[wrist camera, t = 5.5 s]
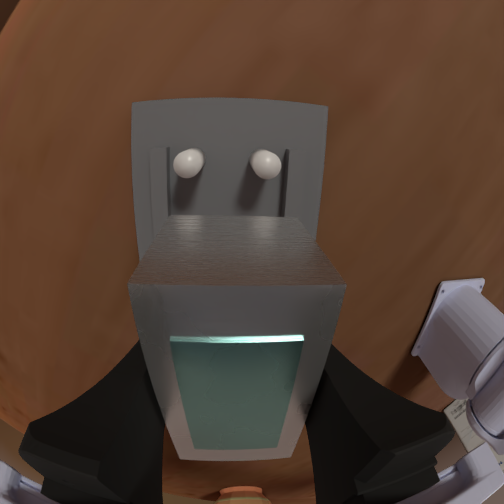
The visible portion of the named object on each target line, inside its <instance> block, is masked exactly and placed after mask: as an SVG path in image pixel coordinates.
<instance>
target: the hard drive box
mask: <svg viewBox="0 0 504 504" xmlns="http://www.w3.org/2000/svg"><path fill="white" fill-rule="evenodd" d="M468 399H469V398H468ZM468 399H464V400H458V399H456V400H455V401H454V402H453V403H451V404H450V405H449V406H448V407H447V408H445V409H444V411H443V412H444V414H445V415H446V417H447V418H448V420H449V422H450V423H451V425H452V427H453V428H454V430H455V432H456V434H457V435H458V437H459V439H460V441H461V443H462V444H463V446H464V448H465V450H466V451H467V453H468V452H470V451H471V450H473V449H474V448H476V447H478V446H479V445H481V444H482V443H484V442H486V441H485V440H483V439H481V438H480V437H479V436H477V435H476V433H475V432H474V431H473V430H472V428H471V427H470V425H469V423H468V420H467V416H466V402H467V400H468ZM488 445H489V444H488ZM489 447H490V449H491V451H492V452H493V454H494V456H495V458H496V460H497V462H498V464H499V465H500V467H501V469H502V471H504V455H498V454H497V453H496V452H495V451H494V450H493V449H492V447H491V446H490V445H489Z"/></svg>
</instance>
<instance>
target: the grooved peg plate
mask: <svg viewBox="0 0 504 504" xmlns="http://www.w3.org/2000/svg"><path fill="white" fill-rule="evenodd" d="M327 117H328V106H321V105H314V104H307V103H298V102H289V101H279V100H266V99H248V98H182V99H165V100H153V101H142V102H133V103H132V123H131V151H132V181H133V198H134V212H135V223H136V233H137V242H138V251H139V259H140V261H141V259H142V258H143V256H144V255H145V253H146V251H147V250H148V248H149V247H150V245H151V243H152V242H153V240H154V239H155V237H156V235H157V234H158V232H159V231H160V229H161V228H162V226H163V225H164V223H165V222H166V220H167V219H168V217H169V216H170V215H214V216H268V217H297V218H298V219H299V221H300V222H301V223H302V224H303V226H304V227H305V228H306V230H307V231H308V232H309V234H310V235H311V236H312V238H313V239H314V240H316V232H317V224H318V216H319V208H320V199H321V189H322V180H323V169H324V158H325V146H326V132H327Z"/></svg>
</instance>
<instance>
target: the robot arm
mask: <svg viewBox="0 0 504 504" xmlns="http://www.w3.org/2000/svg"><path fill="white" fill-rule="evenodd" d="M484 283H485V280H484V279H483V278H476V279H465V280H453V281H443V282H441V283H440V285H439V287H438V290H437V293H436V295H435V298H434V301H433V303H432V306H431V308H430V311H429V313H428V316H427V318H426V321H425V323H424V325H423V328H422V330H421V332H420V334H419V337H418V339H417V341H416V343H415V345H414V347H413V349H412V351H411V354H412V356H417V355H418V356H419V357H420V359H421V360H422V361H423V363H424V364H425V366H426V367H427V369H428V370H429V372H430V373H431V375H432V376H433V378H434V379H435V381H436V382H437V384H438V385H439V387H440V388H441V389H442V391H443V392H444V393H446V394H447V395H448V396H450V397H452V398H454V399H458V400H464V399H468V398H469V399H468V400H467V402H466V416H467V420H468V423H469V425H470V427H471V428H472V430H473V431H474V432H475V433H476V435H477V436H479V437H480V438H481V439H483V440H485V441H486V442H484V443H482V444H481V445H479V446H478V447H476V448H474V449H473V450H471V451H470V452H468V453H467V454H466V455H464V456H463V457H462V458H461V459H459V460H458V461H457V462H456V464H454V465H452V466H450V467H448V468H447V469H445V470H443V471H441V472H439V473H437V472H436V470H435V468H434V466H435V465H436V464H437V460H436V458H435V455H436V454H438V453H439V452H440V451H441V450H442V449H443V448H444V447H445V446H446V445H447V444H448V443H449V442H450V441H451V440H452V438H453V437H454V434H455V431H454V429H453V427H452V425H451V424H450V422H449V420H448V418H447V417H446V415H445V414H444V413H441V412H438V411H435V410H432V409H429V408H426V407H423V406H421V405H418V404H416V403H414V402H412V401H409V400H407V399H405V398H403V397H401V396H399V395H397V394H396V393H394V392H392V391H390V390H389V389H387V388H385V387H384V386H382V385H380V384H379V383H377V382H376V381H375V380H373V379H372V378H370V377H369V376H368V375H366V374H365V373H363V372H362V371H361V370H360V369H358V368H357V367H356V366H355V365H354V364H352V363H351V362H350V361H349V360H348V359H347V358H346V357H345V356H343V355H342V354H341V353H340V352H339V351H338V350H337V349H336V348H335V347H334V346H333V345H332V344H331V346H330V349H329V353H328V356H327V359H326V363H325V366H324V369H323V372H322V375H321V378H320V381H319V384H318V387H317V390H316V393H315V396H314V399H313V402H312V404H311V407H310V410H309V413H308V415H307V418H306V421H305V425H306V429H307V434H308V439H309V445H310V451H311V458H312V465H313V473H314V482H315V492H316V504H481V503H482V502H484V501H485V500H486V499H487V498H488V497H489V496H491V495H492V494H493V493H494V492H495V491H497V490H498V489H499V488H500V487H501V486H502V485H503V484H504V474H503V471H502V469H501V467H500V465H499V464H498V462H497V460H496V458H495V456H494V454H493V452H492V451H491V449H490V447H489V445H490V446H491V447H492V449H493V450H494V451H495V452H496V453H497V454H498V455H504V314H502V313H501V312H500V311H499V310H498V309H497V308H496V307H495V306H494V305H493V304H492V303H491V302H489V301H488V300H487V299H486V298H485V297H484V296H483V295H482V294H480V293H481V291H482V288H483V285H484ZM164 427H165V420H164V418H163V415H162V412H161V409H160V406H159V404H158V401H157V398H156V395H155V392H154V388H153V385H152V382H151V379H150V376H149V372H148V369H147V365H146V362H145V358H144V355H143V351H142V347H141V343H140V340H139V341H138V342H137V343H136V344H135V345H134V347H133V348H132V349H131V350H130V351H129V352H128V354H127V355H126V356H125V357H124V358H123V359H122V360H121V361H120V362H119V363H118V364H117V365H116V366H115V367H114V368H113V369H112V370H111V371H110V372H109V373H108V374H107V375H106V376H105V377H104V378H103V379H102V380H100V381H99V382H98V383H97V384H96V385H94V386H93V387H92V388H91V389H89V390H88V391H86V392H85V393H84V394H82V395H81V396H80V397H78V398H77V399H75V400H74V401H72V402H70V403H69V404H67V405H66V406H64V407H62V408H60V409H58V410H57V411H55V412H53V413H51V414H49V415H46V416H44V417H42V418H40V419H37V420H35V421H33V422H30V423H29V425H28V428H27V430H26V432H25V435H24V437H23V440H22V443H21V445H20V448H19V454H20V456H21V457H22V459H24V460H25V461H26V462H27V463H28V464H29V465H30V466H31V467H33V468H34V469H35V470H36V471H38V472H39V473H40V474H41V475H43V476H44V481H43V485H41V484H39V483H36V482H34V481H32V480H30V479H28V478H26V477H24V476H22V475H21V474H20V473H19V472H18V471H17V470H15V469H14V468H13V467H11V466H10V465H8V464H7V463H5V462H3V461H2V460H0V504H163V498H162V453H163V436H164ZM488 444H489V445H488Z"/></svg>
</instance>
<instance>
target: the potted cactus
mask: <svg viewBox="0 0 504 504" xmlns="http://www.w3.org/2000/svg"><path fill="white" fill-rule="evenodd" d="M220 494H221V496H220V497H219V498H218V499H217V500H216V502H215V503H214V504H271V502H270V501H269V500H268V499H267V498H266V497H265V496H264V495H263V494H262V488H258V487H253V486H237V487H229V488H224V489H222V490H220Z"/></svg>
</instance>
